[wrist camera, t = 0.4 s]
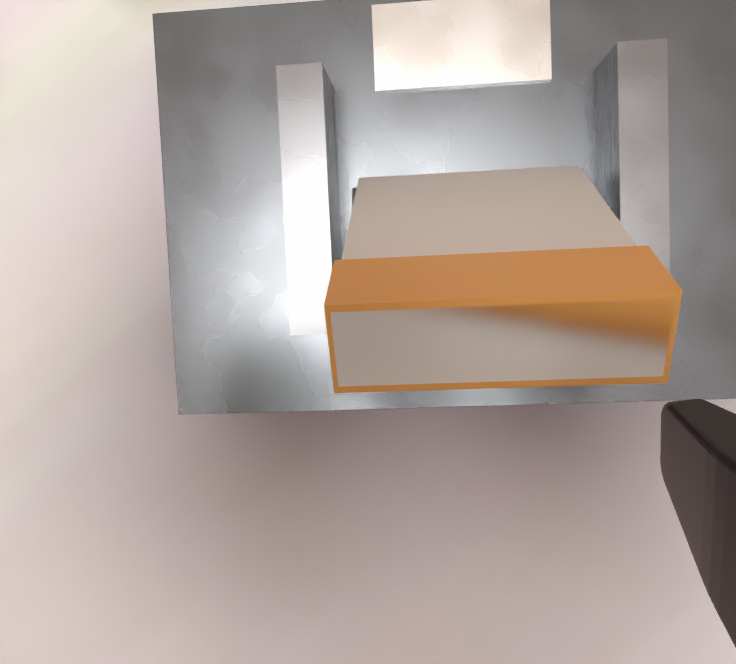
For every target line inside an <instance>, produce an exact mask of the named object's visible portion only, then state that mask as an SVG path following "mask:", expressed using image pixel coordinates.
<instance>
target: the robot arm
mask: <svg viewBox="0 0 736 664" xmlns="http://www.w3.org/2000/svg"><path fill="white" fill-rule="evenodd" d="M660 462H661V470H662V475H663V479H664V482H665V484H666V487H667V490H668V492H669V495H670V497H671V500H672V503H673V505H674V508H675V510H676V513H677V516H678V518H679V521H680V523H681V526H682V528H683V531H684V534H685V536H686V539H687V541H688V544H689V547H690V549H691V552H692V554H693V557H694V560H695V562H696V565H697V567H698V570H699V573H700V575H701V578H702V580H703V582H704V585H705V587H706V590H707V592H708V595H709V597H710V599H711V601H712V603H713V605H714V607H715V609H716V611H717V613H718V615H719V617H720V619H721V620H722V622H723V624H724V626H725V628H726V630H727V632H728V634H729V636H730V638H731V639H732V641H733V643H734V645H735V647H736V414H734V413H732V412H730V411H728V410H725V409H723V408H721V407H719V406H716V405H714V404H712V403H710V402H707V401H705V400H702V399H690V400H682V401H674V402H668V403H666V404H665V405H664V407H663V409H662V413H661V455H660Z"/></svg>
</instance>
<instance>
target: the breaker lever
mask: <svg viewBox="0 0 736 664" xmlns="http://www.w3.org/2000/svg"><path fill="white" fill-rule="evenodd" d="M352 207H353V208H352V212H351V217H350V222H349V226H348V231H347V236H346V240H345V245H344V250H343V254H342V259H341V260H334V264H333V268H332V272H331V276H330V281H329V285H328V289H327V293H326V298H325V302H324V312H325V320H326V329H327V338H328V346H329V355H330V363H331V372H332V380H333V389H334V393H359V392H391V391H424V390H456V389H488V388H521V387H553V386H585V385H618V384H650V383H668V378H669V371H670V365H671V359H672V353H673V347H674V340H675V334H676V328H677V322H678V315H679V309H680V303H681V297H682V291H683V290H682V289H681V288H680V286H679V285H678V284H677V282H676V281H675V280H674V278H673V277H672V276H671V275H670V273H669V272H668V271H667V269H666V268H665V267H664V265H663V264H662V263H661V261H660V260H659V259H658V257H657V256H656V255H655V253H654V252H653V251H652V250H651V248H650V247H649V246H648V245H645V246H637V245H636V243H635V242H634V241H633V239H632V238H631V237H630V235H629V234H628V232H627V231H626V230H625V228H624V227H623V225H622V224H621V223H620V221H619V220H618V219H617V217H616V216H615V214H614V213H613V212H612V210H611V209H610V207H609V206H608V205H607V203H606V202H605V201H604V199H603V198H602V196H601V195H600V194H599V192H598V191H597V190H596V188H595V187H594V185H593V184H592V183H591V181H590V180H589V178H588V177H587V176H586V174H585V173H584V172H583V170H582V169H581V167H580V166H579V165H577V166H559V167H541V168H523V169H506V170H488V171H470V172H452V173H435V174H417V175H399V176H381V177H363V178H359V180H358V184H357V188H353V190H352Z"/></svg>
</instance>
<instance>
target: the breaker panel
mask: <svg viewBox="0 0 736 664" xmlns="http://www.w3.org/2000/svg"><path fill="white" fill-rule="evenodd" d="M153 29H154V44H155V59H156V75H157V90H158V105H159V121H160V136H161V151H162V167H163V182H164V197H165V213H166V228H167V243H168V259H169V274H170V289H171V305H172V320H173V335H174V351H175V366H176V381H177V396H178V412H179V414H214V413H248V412H283V411H318V410H352V409H387V408H421V407H456V406H490V405H525V404H560V403H594V402H629V401H663V400H690V399H732V398H736V0H324V1H311V2H298V3H285V4H272V5H259V6H246V7H233V8H221V9H208V10H195V11H182V12H169V13H156V14H153ZM577 165H579V166H580V167H581V169H582V170H583V172H584V173H585V174H586V176H587V177H588V178H589V180H590V181H591V183H592V184H593V185H594V187H595V188H596V190H597V191H598V192H599V194H600V195H601V196H602V198H603V199H604V201H605V202H606V203H607V205H608V206H609V207H610V209H611V210H612V212H613V213H614V214H615V216H616V217H617V219H618V220H619V221H620V223H621V224H622V225H623V227H624V228H625V230H626V231H627V232H628V234H629V235H630V237H631V238H632V239H633V241H634V242H635V243H636V245H637V246H645V245H648V246H649V247H650V248H651V250H652V251H653V252H654V253H655V255H656V256H657V257H658V259H659V260H660V261H661V263H662V264H663V265H664V267H665V268H666V269H667V271H668V272H669V273H670V275H671V276H672V277H673V278H674V280H675V281H676V282H677V284H678V285H679V286H680V288H681V289H682V290H683V291H682V297H681V303H680V309H679V315H678V322H677V328H676V334H675V340H674V347H673V353H672V359H671V365H670V371H669V378H668V383H650V384H618V385H585V386H553V387H521V388H488V389H456V390H424V391H391V392H359V393H334V389H333V380H332V372H331V363H330V355H329V346H328V338H327V329H326V320H325V312H324V302H325V298H326V293H327V289H328V285H329V281H330V276H331V272H332V268H333V264H334V260H341V259H342V254H343V250H344V245H345V240H346V236H347V231H348V226H349V222H350V217H351V212H352V208H353V207H352V190H353V188H357V184H358V180H359V178H363V177H381V176H399V175H417V174H435V173H452V172H470V171H488V170H506V169H523V168H541V167H559V166H577Z"/></svg>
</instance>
